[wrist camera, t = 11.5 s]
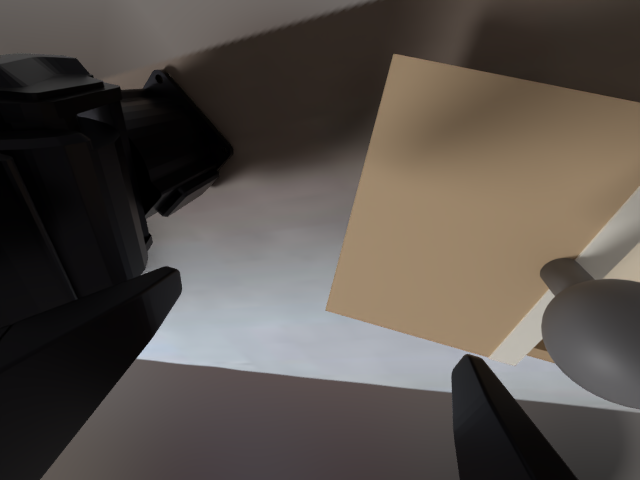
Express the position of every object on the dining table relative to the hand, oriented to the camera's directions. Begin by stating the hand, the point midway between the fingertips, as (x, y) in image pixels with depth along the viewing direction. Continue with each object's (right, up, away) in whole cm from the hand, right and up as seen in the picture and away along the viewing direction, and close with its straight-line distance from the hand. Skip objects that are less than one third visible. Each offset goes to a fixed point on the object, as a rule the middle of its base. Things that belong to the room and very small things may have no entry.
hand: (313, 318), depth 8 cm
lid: (+8, +2, +6) cm, 10 cm away
